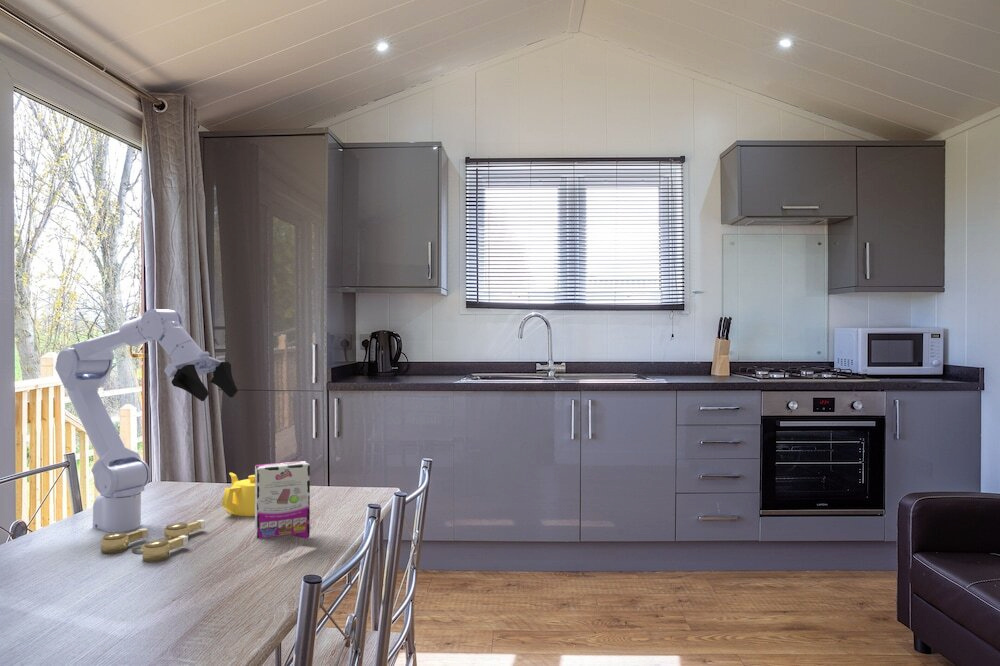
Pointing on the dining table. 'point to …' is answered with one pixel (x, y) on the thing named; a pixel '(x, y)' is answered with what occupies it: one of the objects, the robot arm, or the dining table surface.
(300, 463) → the candy bar box
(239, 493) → the teapot
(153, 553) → the knob front
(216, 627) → the dining table surface
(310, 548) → the dining table surface
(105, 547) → the knob inner
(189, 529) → the knob rear
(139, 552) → the tribrach plate
